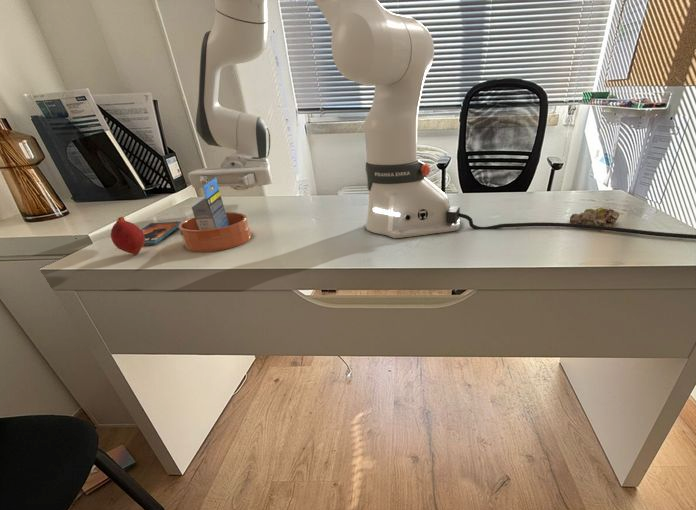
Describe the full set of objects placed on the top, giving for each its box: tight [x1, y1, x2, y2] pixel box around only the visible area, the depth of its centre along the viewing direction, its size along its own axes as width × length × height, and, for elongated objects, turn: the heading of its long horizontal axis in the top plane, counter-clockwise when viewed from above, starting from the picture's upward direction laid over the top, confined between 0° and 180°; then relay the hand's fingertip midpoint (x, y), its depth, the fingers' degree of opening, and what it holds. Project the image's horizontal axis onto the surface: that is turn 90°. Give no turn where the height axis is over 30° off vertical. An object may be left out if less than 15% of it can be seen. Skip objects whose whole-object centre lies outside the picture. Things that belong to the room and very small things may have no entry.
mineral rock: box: [569, 207, 620, 227], centre depth 88 cm, size 11×4×8 cm
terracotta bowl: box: [177, 211, 252, 253], centre depth 88 cm, size 14×14×4 cm
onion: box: [110, 215, 145, 256], centre depth 81 cm, size 6×6×8 cm
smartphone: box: [141, 221, 183, 246], centre depth 94 cm, size 8×1×15 cm
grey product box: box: [191, 177, 230, 230], centre depth 85 cm, size 9×4×12 cm, turn 5°
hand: (223, 182), depth 93 cm, fingers open, 8 cm apart
